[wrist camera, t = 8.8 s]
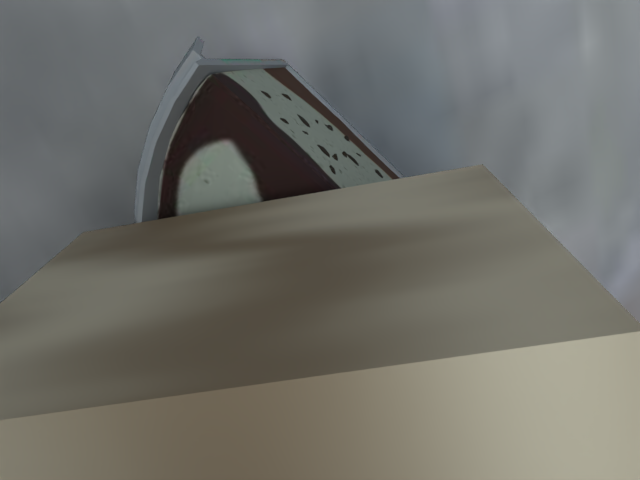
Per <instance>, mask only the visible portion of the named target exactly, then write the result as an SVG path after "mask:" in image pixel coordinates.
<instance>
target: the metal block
mask: <svg viewBox="0 0 640 480" xmlns="http://www.w3.org/2000/svg"><path fill="white" fill-rule="evenodd" d="M0 480H640V323H639V322H638V321H637V320H636V319H635V318H634V317H633V316H632V315H631V314H630V313H629V312H628V311H627V310H626V309H625V308H624V307H623V306H622V305H621V304H620V303H619V302H618V301H617V300H616V299H615V298H614V297H613V296H612V295H611V294H610V293H609V292H608V291H607V290H606V289H605V288H604V287H603V286H602V285H601V284H600V283H599V282H598V281H597V280H596V279H595V278H594V277H593V276H592V275H591V274H590V273H589V272H588V271H587V269H586V268H585V267H584V266H583V265H582V264H581V263H580V262H579V261H578V260H577V259H576V258H575V257H574V256H573V255H572V254H571V253H570V252H569V251H568V250H567V249H566V248H565V247H564V246H563V245H562V244H561V243H560V242H559V241H558V240H557V239H556V238H555V237H554V236H553V235H552V234H551V233H550V232H549V231H548V230H547V229H546V228H545V227H544V226H543V225H542V224H541V223H540V222H539V221H538V220H537V219H536V218H535V217H534V216H533V215H532V214H531V213H530V212H529V211H528V210H527V209H526V208H525V207H524V206H523V205H522V204H521V203H520V202H519V201H518V200H517V199H516V198H515V197H514V196H513V195H512V194H511V193H510V192H509V191H508V190H507V189H506V188H505V187H504V186H503V185H502V184H501V183H500V181H499V180H498V179H497V178H496V177H495V176H494V175H493V174H492V173H491V172H490V171H489V170H488V169H487V168H486V167H485V166H484V165H483V164H482V165H476V166H471V167H465V168H459V169H453V170H447V171H441V172H435V173H429V174H423V175H417V176H412V177H406V178H400V179H394V180H388V181H382V182H376V183H370V184H364V185H359V186H353V187H347V188H341V189H335V190H329V191H323V192H317V193H311V194H305V195H300V196H294V197H288V198H282V199H276V200H270V201H264V202H258V203H252V204H247V205H241V206H235V207H229V208H223V209H217V210H211V211H205V212H199V213H194V214H188V215H182V216H176V217H170V218H164V219H158V220H152V221H146V222H140V223H135V224H129V225H123V226H117V227H111V228H105V229H99V230H93V231H87V232H83V233H82V234H81V235H79V236H78V237H77V238H76V239H75V240H74V241H72V242H71V243H70V244H69V245H68V246H67V247H66V248H64V249H63V250H62V251H61V252H60V253H59V254H57V255H56V256H55V257H54V258H53V259H52V260H50V261H49V262H48V263H47V264H46V265H45V266H43V267H42V268H41V269H40V270H39V271H38V272H36V273H35V274H34V275H33V276H32V277H31V278H29V279H28V280H27V281H26V282H25V283H24V284H22V285H21V286H20V287H19V288H18V289H17V290H15V291H14V292H13V293H12V294H11V295H10V296H8V297H7V298H6V299H5V300H4V301H3V302H1V303H0Z"/></svg>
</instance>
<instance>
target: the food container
mask: <svg viewBox="0 0 640 480" xmlns="http://www.w3.org/2000/svg"><path fill="white" fill-rule="evenodd" d="M203 44H204V41H203V40H202V39H201V38H199V37H197V39H196V40H195V42H194V43H193V45H192V46H191V48H190V49H189V51H188V52H187V54H186V55H185V57H184V58H183V60H182V61H181V63H180V64H179V66H178V67H177V69H176V71H175V72H174V74H173V76H172V79H171V81H170V83H169V85H168V87H167V90H166V92H165V94H164V96H163V98H162V101H161V103H160V105H159V107H158V109H157V111H156V114H155V116H154V118H153V120H152V122H151V125H150V127H149V130H148V134H147V138H146V141H145V145H144V149H143V153H142V156H141V160H140V164H139V168H138V174H137V185H136V196H135V207H134V217H135V223H140V222H146V221H152V220H158V219H164V218H170V217H176V216H182V215H188V214H194V213H199V212H205V211H211V210H217V209H223V208H229V207H235V206H241V205H247V204H252V203H258V202H264V201H270V200H276V199H282V198H288V197H294V196H300V195H305V194H311V193H317V192H323V191H329V190H335V189H341V188H347V187H353V186H359V185H364V184H370V183H376V182H382V181H388V180H394V179H400V178H405V177H404V176H403V175H402V174H401V173H400V172H399V171H398V170H397V169H396V168H395V167H394V166H393V165H392V164H391V163H390V162H389V161H388V160H386V159H385V158H384V157H383V156H382V155H381V154H380V153H379V152H378V151H377V150H376V149H375V148H374V147H373V146H372V145H371V144H370V143H369V142H368V141H367V140H366V139H365V138H364V137H363V136H362V135H361V134H360V133H359V132H358V131H357V130H356V129H355V128H354V127H352V126H351V125H350V124H349V123H348V122H347V121H346V120H345V119H344V118H343V117H342V116H341V115H340V114H339V113H338V112H337V111H336V110H335V109H334V108H333V107H332V106H331V105H330V104H329V103H328V102H327V101H326V100H325V99H324V98H323V97H322V96H321V95H320V94H318V93H317V92H316V91H315V90H314V89H313V88H312V87H311V86H310V85H309V84H308V83H307V82H306V81H305V80H304V79H303V78H302V77H301V76H300V75H299V74H298V73H297V72H296V71H295V70H294V69H293V68H292V67H291V66H290V65H289V64H288V63H287V62H286V61H285V60H251V59H205V58H204V57H203V56H202V55H201V51H202V48H203Z"/></svg>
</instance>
